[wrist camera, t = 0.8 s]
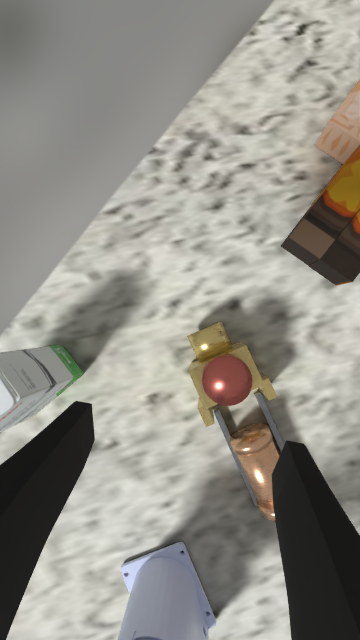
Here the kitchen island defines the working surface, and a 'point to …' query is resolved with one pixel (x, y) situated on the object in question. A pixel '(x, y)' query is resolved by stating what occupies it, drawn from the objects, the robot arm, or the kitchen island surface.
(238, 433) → the coupling
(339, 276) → the toy
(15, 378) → the ink box
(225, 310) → the kitchen island surface
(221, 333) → the valve
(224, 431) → the rails
